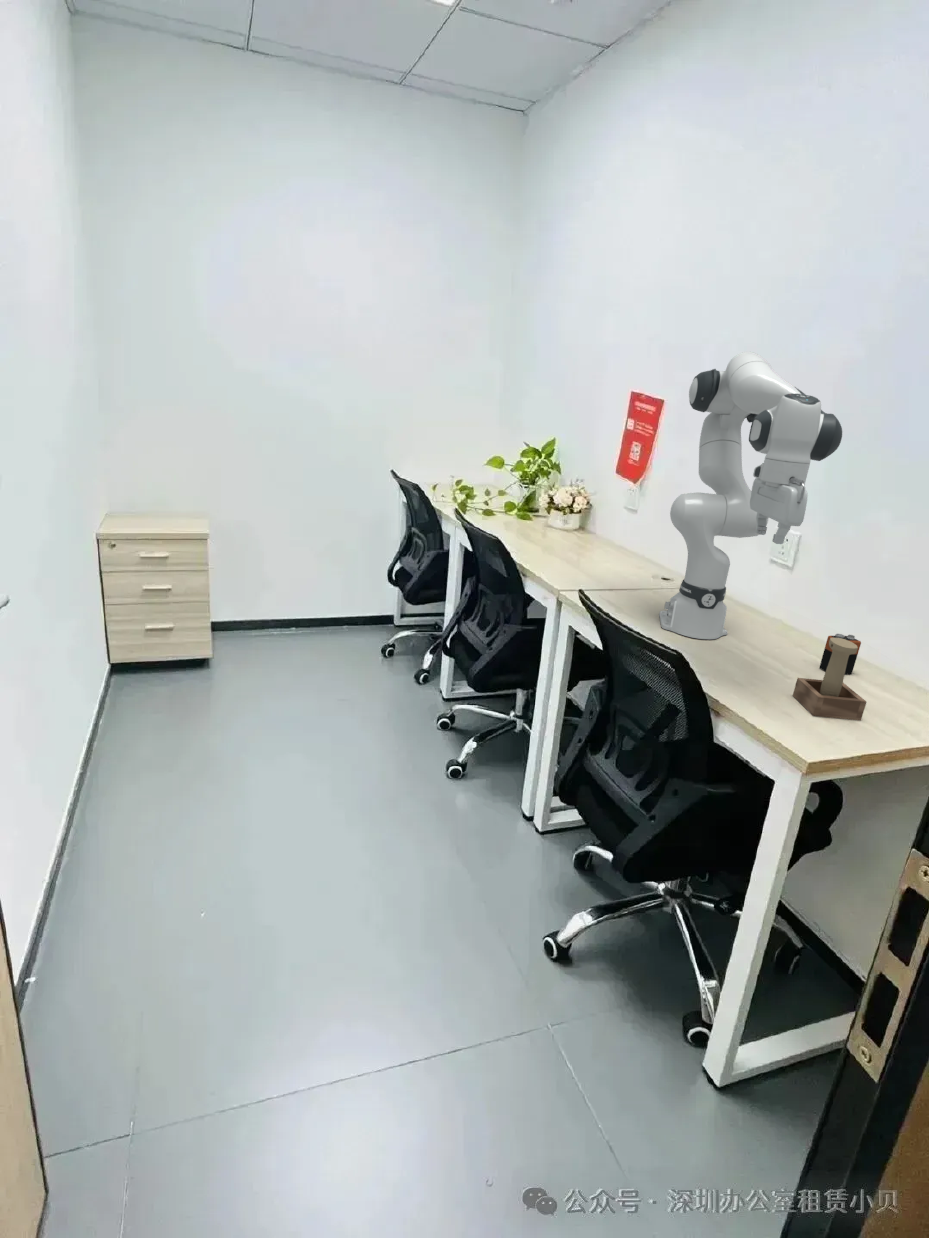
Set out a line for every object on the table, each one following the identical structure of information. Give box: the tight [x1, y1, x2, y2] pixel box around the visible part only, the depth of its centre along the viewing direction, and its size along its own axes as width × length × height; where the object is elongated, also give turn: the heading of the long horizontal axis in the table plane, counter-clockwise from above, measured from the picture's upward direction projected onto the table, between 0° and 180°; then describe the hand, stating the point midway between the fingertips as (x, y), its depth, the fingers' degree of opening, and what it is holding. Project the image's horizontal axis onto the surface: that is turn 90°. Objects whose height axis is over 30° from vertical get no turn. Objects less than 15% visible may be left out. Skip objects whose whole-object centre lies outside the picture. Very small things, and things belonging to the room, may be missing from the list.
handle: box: [820, 638, 858, 697], centre depth 152 cm, size 5×6×15 cm
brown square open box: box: [792, 677, 867, 721], centre depth 154 cm, size 10×10×4 cm
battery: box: [819, 633, 862, 675], centre depth 176 cm, size 4×7×10 cm, turn 102°
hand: (768, 538), depth 151 cm, fingers open, 8 cm apart
